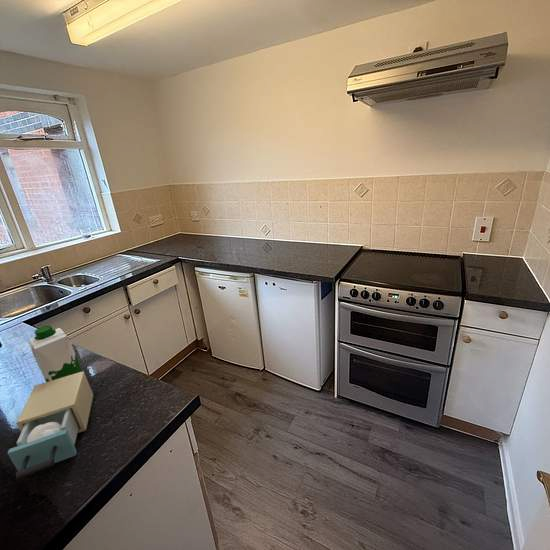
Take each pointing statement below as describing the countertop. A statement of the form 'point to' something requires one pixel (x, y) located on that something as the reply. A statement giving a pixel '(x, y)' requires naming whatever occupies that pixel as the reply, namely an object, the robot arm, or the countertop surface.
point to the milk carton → (54, 353)
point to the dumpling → (44, 431)
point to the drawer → (45, 444)
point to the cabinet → (59, 400)
